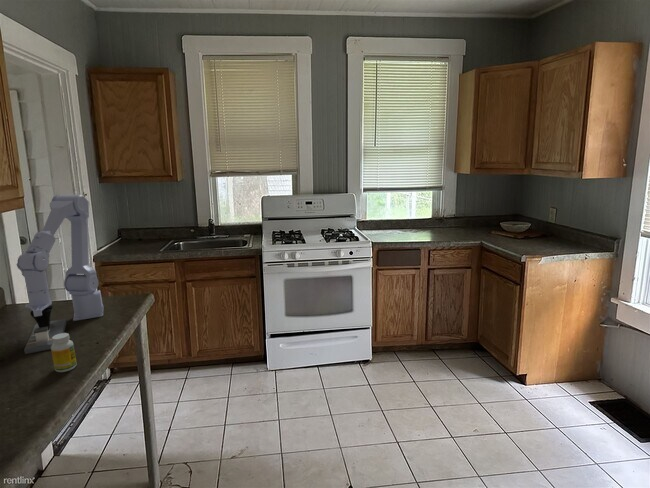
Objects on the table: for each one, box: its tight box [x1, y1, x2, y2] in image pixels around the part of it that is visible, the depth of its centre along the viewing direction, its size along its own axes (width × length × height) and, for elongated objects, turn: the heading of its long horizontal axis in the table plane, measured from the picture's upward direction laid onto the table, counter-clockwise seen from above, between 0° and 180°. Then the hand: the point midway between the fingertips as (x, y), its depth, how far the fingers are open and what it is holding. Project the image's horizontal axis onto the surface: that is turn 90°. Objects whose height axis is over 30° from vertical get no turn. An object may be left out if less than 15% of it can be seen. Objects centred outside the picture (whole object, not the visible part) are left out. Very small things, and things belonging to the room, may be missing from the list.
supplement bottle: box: [50, 332, 78, 373], centre depth 120 cm, size 5×5×10 cm
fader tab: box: [34, 327, 49, 342], centre depth 134 cm, size 3×3×4 cm
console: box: [23, 318, 68, 355], centre depth 142 cm, size 9×22×3 cm, turn 25°
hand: (45, 330), depth 140 cm, fingers closed
